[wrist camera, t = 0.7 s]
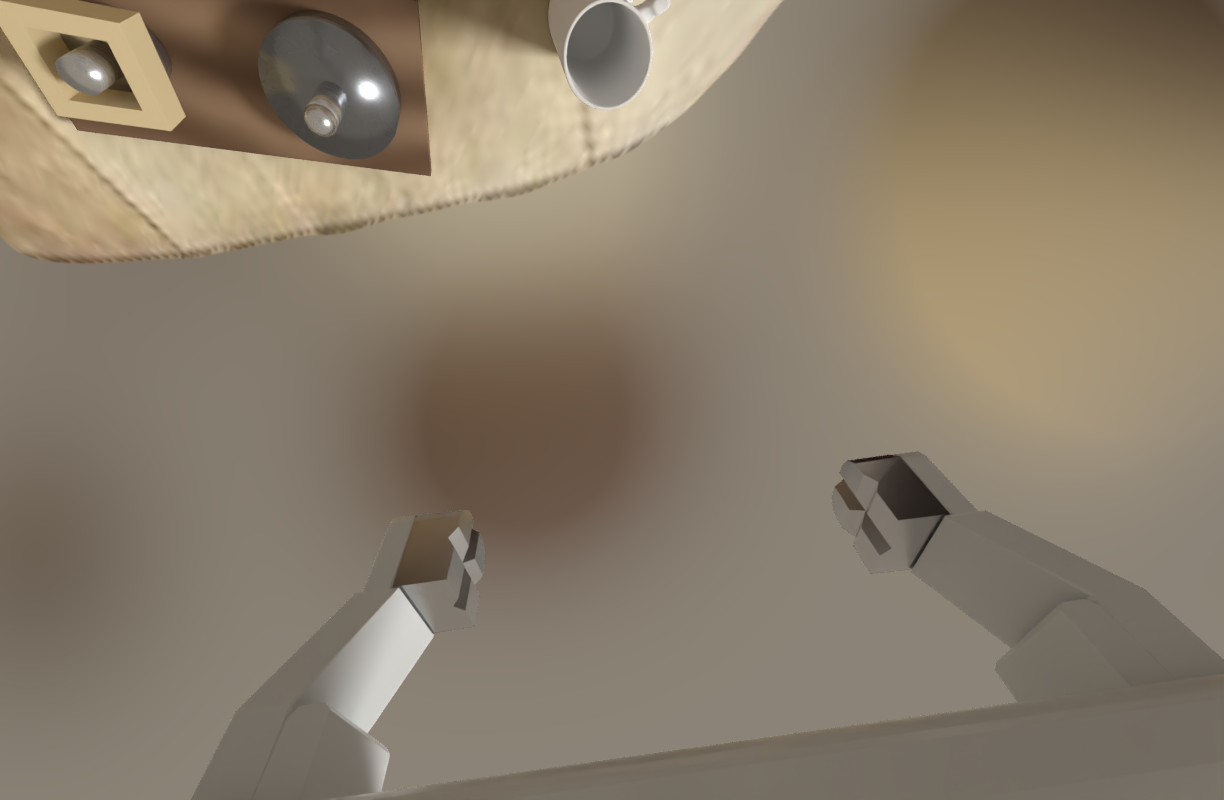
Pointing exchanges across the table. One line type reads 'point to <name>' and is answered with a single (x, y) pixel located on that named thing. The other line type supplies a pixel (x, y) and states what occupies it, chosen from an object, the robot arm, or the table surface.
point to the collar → (49, 4)
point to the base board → (230, 84)
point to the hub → (330, 84)
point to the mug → (604, 47)
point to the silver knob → (98, 64)
